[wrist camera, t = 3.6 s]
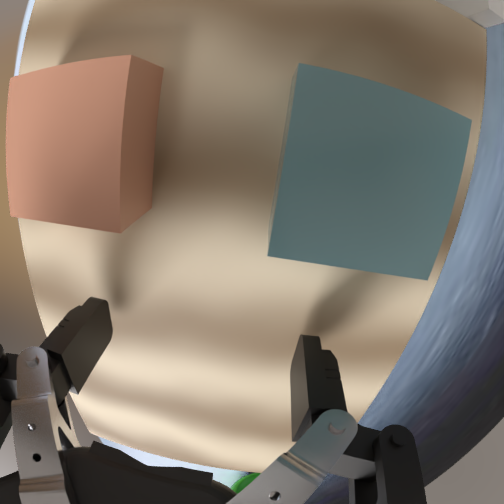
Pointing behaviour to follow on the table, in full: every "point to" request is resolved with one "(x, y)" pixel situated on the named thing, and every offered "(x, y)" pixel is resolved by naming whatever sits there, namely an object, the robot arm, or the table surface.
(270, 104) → the wooden tray board
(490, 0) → the box
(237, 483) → the speaker
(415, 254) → the teal tile
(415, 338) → the table surface
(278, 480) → the robot arm
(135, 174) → the terracotta tile
